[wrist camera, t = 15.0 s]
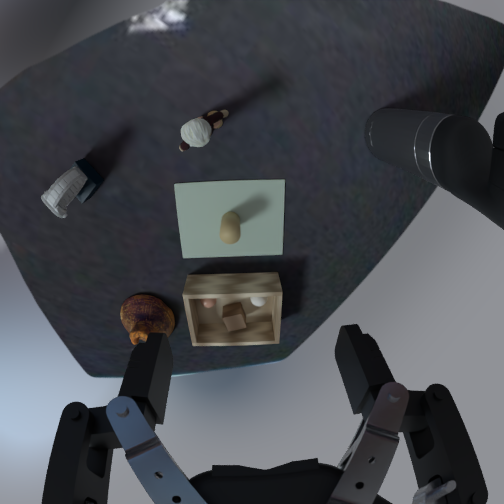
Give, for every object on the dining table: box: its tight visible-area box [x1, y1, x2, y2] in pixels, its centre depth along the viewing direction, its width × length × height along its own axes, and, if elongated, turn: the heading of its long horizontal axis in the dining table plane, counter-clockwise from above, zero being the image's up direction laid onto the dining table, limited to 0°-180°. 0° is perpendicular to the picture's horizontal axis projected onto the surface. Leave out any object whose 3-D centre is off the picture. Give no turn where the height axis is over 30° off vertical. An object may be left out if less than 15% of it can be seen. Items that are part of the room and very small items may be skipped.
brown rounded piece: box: [121, 294, 175, 344], centre depth 50 cm, size 12×12×7 cm
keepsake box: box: [183, 272, 283, 346], centre depth 49 cm, size 16×12×6 cm
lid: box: [174, 179, 285, 258], centre depth 42 cm, size 17×13×6 cm
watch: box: [41, 159, 104, 218], centre depth 35 cm, size 6×8×11 cm
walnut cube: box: [222, 302, 247, 332], centre depth 51 cm, size 4×4×4 cm
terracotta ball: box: [200, 298, 217, 308], centre depth 49 cm, size 3×3×3 cm
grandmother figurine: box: [179, 110, 229, 151], centre depth 32 cm, size 8×4×13 cm, turn 139°
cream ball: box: [250, 297, 267, 306], centre depth 49 cm, size 3×3×3 cm
